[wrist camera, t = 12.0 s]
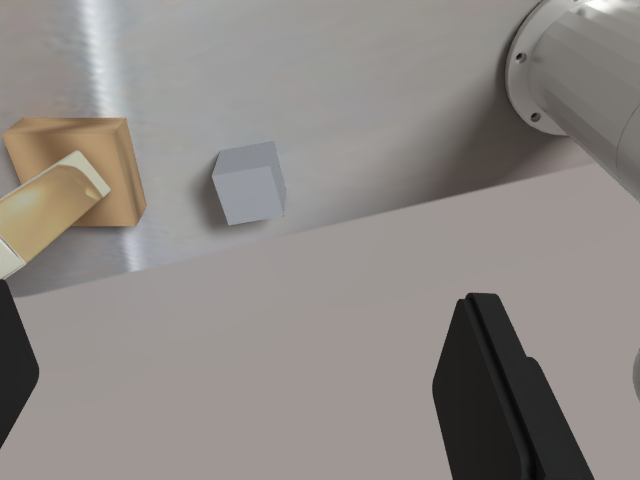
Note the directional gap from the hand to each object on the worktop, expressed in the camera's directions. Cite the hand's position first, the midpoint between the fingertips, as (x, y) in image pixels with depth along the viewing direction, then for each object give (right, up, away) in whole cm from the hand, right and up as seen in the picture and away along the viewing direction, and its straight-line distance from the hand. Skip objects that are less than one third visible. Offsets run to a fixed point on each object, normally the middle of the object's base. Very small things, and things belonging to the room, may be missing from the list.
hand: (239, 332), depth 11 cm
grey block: (-4, +9, +36) cm, 37 cm away
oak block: (-20, +9, +36) cm, 42 cm away
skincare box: (-19, +7, +32) cm, 38 cm away
